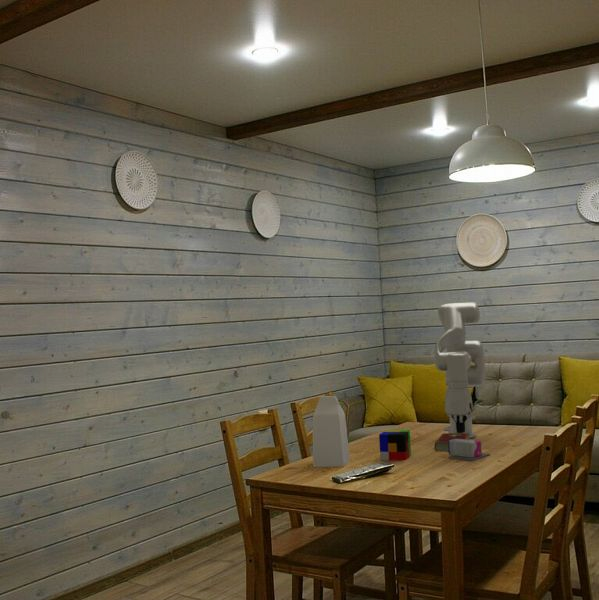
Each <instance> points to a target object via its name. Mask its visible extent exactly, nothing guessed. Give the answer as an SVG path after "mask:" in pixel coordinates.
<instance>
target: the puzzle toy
mask: <svg viewBox="0 0 599 600" xmlns="http://www.w3.org/2000/svg"><path fill="white" fill-rule="evenodd" d="M378 436H379V437H378V441H379V456H380V461H402V460H406V461H407V460H408V459H409V458H410V457H411V456H412V448H411V431H410V430H407V429H406V430H405V429H404V430H403V429H402V430H399V429H397V430H396V429H394V430H393V429H391V430H390V429H389V430H387V429H386V430H384V431H382V432H381V433H380V434H378Z"/></svg>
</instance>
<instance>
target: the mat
mask: <svg viewBox="0 0 599 600" xmlns="http://www.w3.org/2000/svg"><path fill="white" fill-rule="evenodd" d="M490 456H491V453H487V452H486V453H484V452H482V455H481V456H478V457H474V458H472V457H463V456H455V455H451V456H449V457H448V459H450V460H458V461H468V462H473V461H477V460H479V459H482V458H485V457H486V458H487V457H490Z"/></svg>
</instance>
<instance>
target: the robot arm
mask: <svg viewBox="0 0 599 600" xmlns="http://www.w3.org/2000/svg"><path fill="white" fill-rule="evenodd" d="M437 313H438V317H439V320H440V322H441V324H442V326H443V329H444V333H443V334H442V335H441V336H440V337H439V338H438V339H437V341H436V343H435V345H434V366H435V368H436V369H437V370H438V371H440V372H445V373H444V379H445V385H446V387H447V388H446V390H445V397H444V398H445V399H444V400H445V401H444V403H445V404H444V406H445V407H444V408H445V411H444V412H445V414H446V415H447V417H449V426H446V425H445V426H444V428H443V431H444V432H448V433H470V435H469V439H473V438H476V437H477V433H476V432H473V421H472V418H473V416H474V415H473V412H474V411H473V410H474V407H473V399H472V393H471V389H470V388H471V387H474V388H475V387H482V386H484V385H485V384H486V379H487V376H486V365H485V363H486V362H485V351H484V345H483V344H482V342H481V341H480V340H475V339H474V340H467V339H466V337H467V336H466V334H467V331H466V324H477V323H478V322H479V321H480V307H479V305H478V303H477V302H475V301H474V302H471V301H470V302H451V303H444V304H441V305H439V307H438V309H437ZM444 350H446V351H444ZM472 363H473V364H472ZM469 387H470V388H469Z"/></svg>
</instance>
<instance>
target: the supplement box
mask: <svg viewBox="0 0 599 600" xmlns="http://www.w3.org/2000/svg"><path fill="white" fill-rule="evenodd" d="M448 448H449V451H448V456H463V457H472V458H474V457H478V456H481V455H482V453H483V452H482V441H481V440H475V439H469V440H466V439H457V438H456V439H451V440H448Z"/></svg>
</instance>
